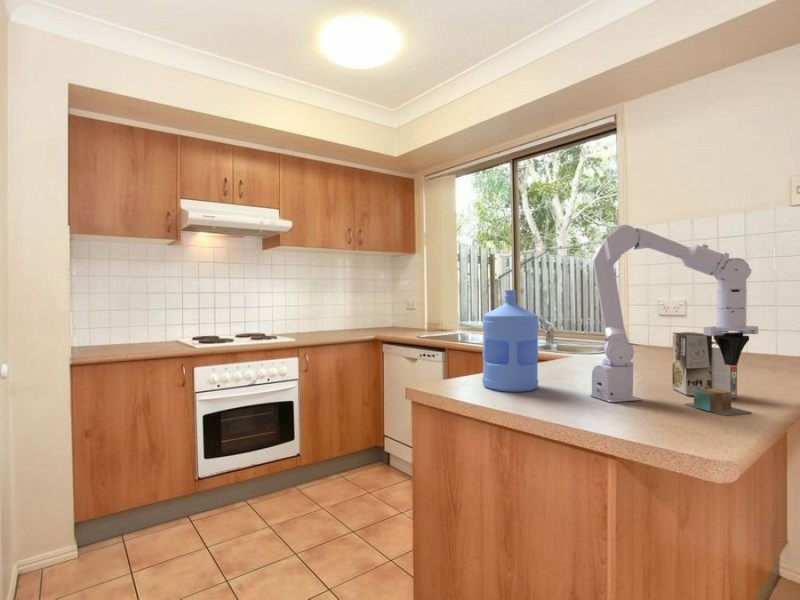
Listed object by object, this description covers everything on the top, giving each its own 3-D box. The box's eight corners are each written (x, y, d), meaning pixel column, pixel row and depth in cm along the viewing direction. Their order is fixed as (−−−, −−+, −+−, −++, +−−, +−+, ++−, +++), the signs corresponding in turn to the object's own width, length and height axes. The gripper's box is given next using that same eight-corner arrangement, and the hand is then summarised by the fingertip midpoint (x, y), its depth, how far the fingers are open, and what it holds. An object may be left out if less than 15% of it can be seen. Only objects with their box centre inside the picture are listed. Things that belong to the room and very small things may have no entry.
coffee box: (712, 396, 118) (713, 335, 118) (685, 395, 119) (686, 334, 119) (696, 389, 127) (696, 331, 127) (671, 388, 128) (671, 331, 128)
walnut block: (709, 393, 103) (731, 392, 105) (694, 389, 107) (715, 388, 109) (709, 411, 103) (731, 409, 105) (693, 406, 107) (715, 405, 109)
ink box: (705, 392, 123) (705, 339, 123) (737, 398, 116) (738, 342, 116) (697, 394, 122) (697, 340, 121) (729, 400, 115) (730, 343, 114)
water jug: (480, 380, 139) (481, 290, 139) (532, 382, 138) (533, 290, 137) (484, 391, 124) (484, 290, 123) (543, 393, 122) (543, 290, 122)
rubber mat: (724, 415, 100) (724, 414, 100) (684, 404, 110) (684, 403, 110) (751, 413, 103) (751, 411, 103) (710, 402, 112) (710, 401, 112)
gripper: (723, 309, 102) (723, 369, 102) (771, 308, 106) (771, 366, 106) (695, 308, 109) (695, 364, 109) (742, 307, 113) (741, 361, 113)
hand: (730, 364), depth 108 cm, fingers closed
